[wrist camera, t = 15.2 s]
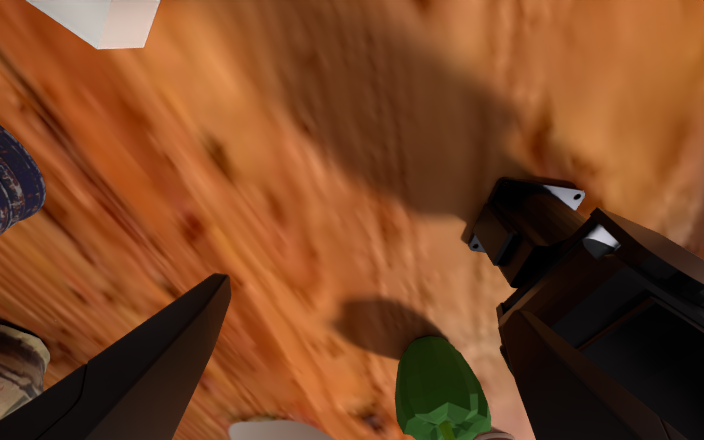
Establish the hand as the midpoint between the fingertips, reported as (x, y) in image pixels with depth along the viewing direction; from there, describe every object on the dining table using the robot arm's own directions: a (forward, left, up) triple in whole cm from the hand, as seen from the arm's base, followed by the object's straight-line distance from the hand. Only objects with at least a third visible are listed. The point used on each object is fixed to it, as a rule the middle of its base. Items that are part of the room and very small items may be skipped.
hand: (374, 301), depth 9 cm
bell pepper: (-11, +21, -13) cm, 27 cm away
